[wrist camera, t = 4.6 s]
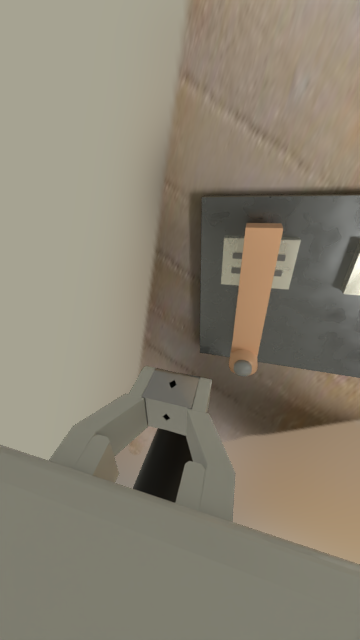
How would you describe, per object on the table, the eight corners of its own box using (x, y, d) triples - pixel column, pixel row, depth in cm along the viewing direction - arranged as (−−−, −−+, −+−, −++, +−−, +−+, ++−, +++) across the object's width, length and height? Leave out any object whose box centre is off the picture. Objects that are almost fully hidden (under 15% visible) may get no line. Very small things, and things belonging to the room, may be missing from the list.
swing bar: (255, 354, 30) (255, 382, 26) (231, 351, 31) (227, 377, 27) (281, 221, 21) (286, 233, 17) (245, 220, 22) (243, 232, 18)
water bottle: (165, 426, 50) (111, 578, 32) (157, 395, 44) (87, 557, 26) (211, 436, 47) (181, 609, 29) (209, 404, 41) (171, 593, 23)
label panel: (514, 191, 17) (549, 194, 15) (390, 374, 28) (401, 390, 26) (204, 195, 23) (199, 198, 21) (201, 345, 34) (198, 357, 32)
